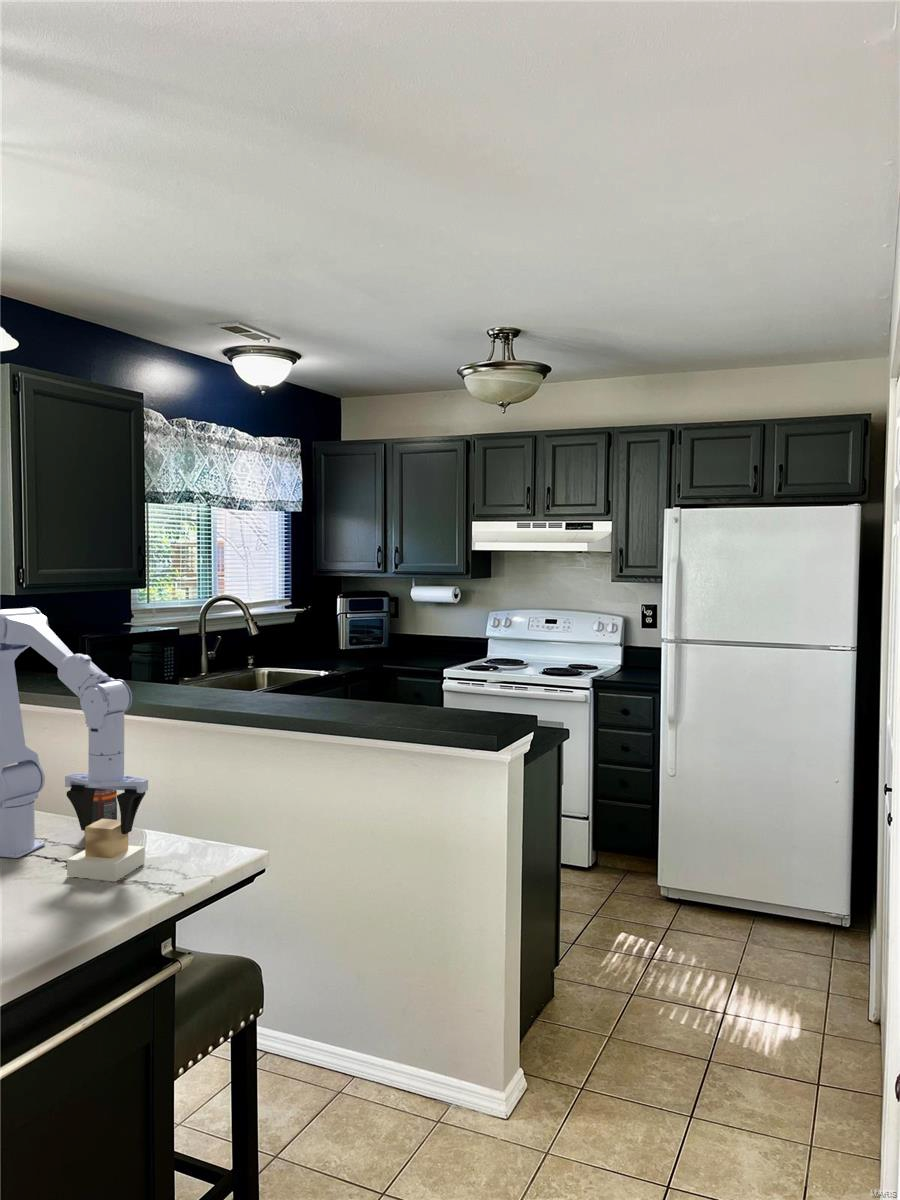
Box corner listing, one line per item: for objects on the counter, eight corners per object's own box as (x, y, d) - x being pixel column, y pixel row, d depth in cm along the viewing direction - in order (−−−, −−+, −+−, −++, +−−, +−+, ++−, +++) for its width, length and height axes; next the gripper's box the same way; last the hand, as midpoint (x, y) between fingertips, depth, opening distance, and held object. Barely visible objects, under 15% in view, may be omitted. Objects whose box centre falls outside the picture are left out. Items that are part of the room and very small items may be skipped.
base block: (67, 876, 151) (66, 859, 151) (98, 859, 160) (98, 842, 160) (115, 881, 149) (115, 863, 149) (144, 863, 158) (144, 846, 158)
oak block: (85, 856, 153) (85, 826, 152) (102, 846, 158) (102, 818, 157) (112, 858, 152) (112, 829, 151) (128, 849, 156) (128, 820, 156)
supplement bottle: (122, 830, 176) (122, 773, 176) (108, 840, 170) (108, 781, 170) (93, 829, 177) (93, 772, 176) (78, 838, 171) (77, 780, 170)
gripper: (53, 754, 151) (53, 834, 152) (132, 760, 148) (132, 841, 149) (79, 745, 158) (79, 822, 159) (154, 751, 155) (154, 828, 156)
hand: (106, 830), depth 154 cm, fingers open, 7 cm apart
